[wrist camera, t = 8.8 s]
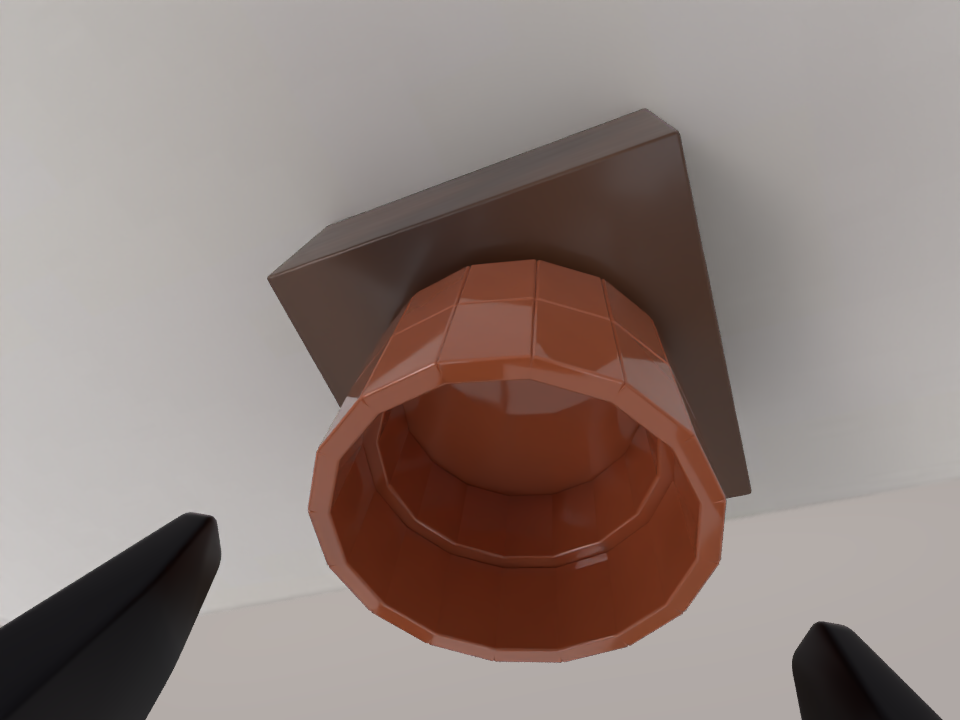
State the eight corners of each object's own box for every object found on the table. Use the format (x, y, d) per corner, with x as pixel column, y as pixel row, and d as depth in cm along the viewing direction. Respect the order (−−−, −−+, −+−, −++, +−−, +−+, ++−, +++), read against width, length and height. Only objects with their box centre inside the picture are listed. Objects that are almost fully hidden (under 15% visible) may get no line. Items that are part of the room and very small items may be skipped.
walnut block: (646, 107, 14) (679, 130, 10) (712, 405, 18) (752, 494, 14) (325, 225, 16) (264, 277, 13) (445, 466, 20) (424, 556, 16)
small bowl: (736, 379, 13) (820, 531, 9) (537, 539, 16) (534, 705, 12) (496, 183, 11) (468, 262, 7) (327, 402, 14) (243, 541, 10)
